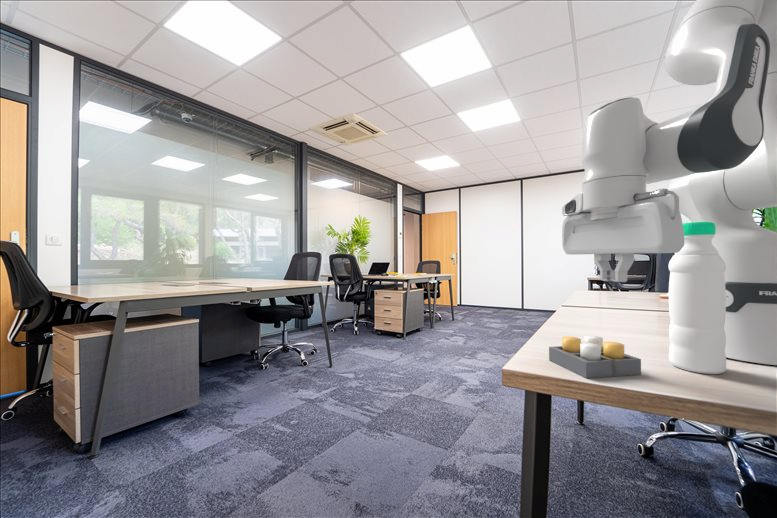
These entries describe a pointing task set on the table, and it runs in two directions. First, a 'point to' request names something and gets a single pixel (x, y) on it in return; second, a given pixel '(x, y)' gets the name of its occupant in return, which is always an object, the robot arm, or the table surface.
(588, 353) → the button
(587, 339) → the button
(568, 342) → the button
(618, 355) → the button
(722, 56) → the robot arm
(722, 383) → the table surface
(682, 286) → the water bottle
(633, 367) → the grey egg tray
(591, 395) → the table surface
